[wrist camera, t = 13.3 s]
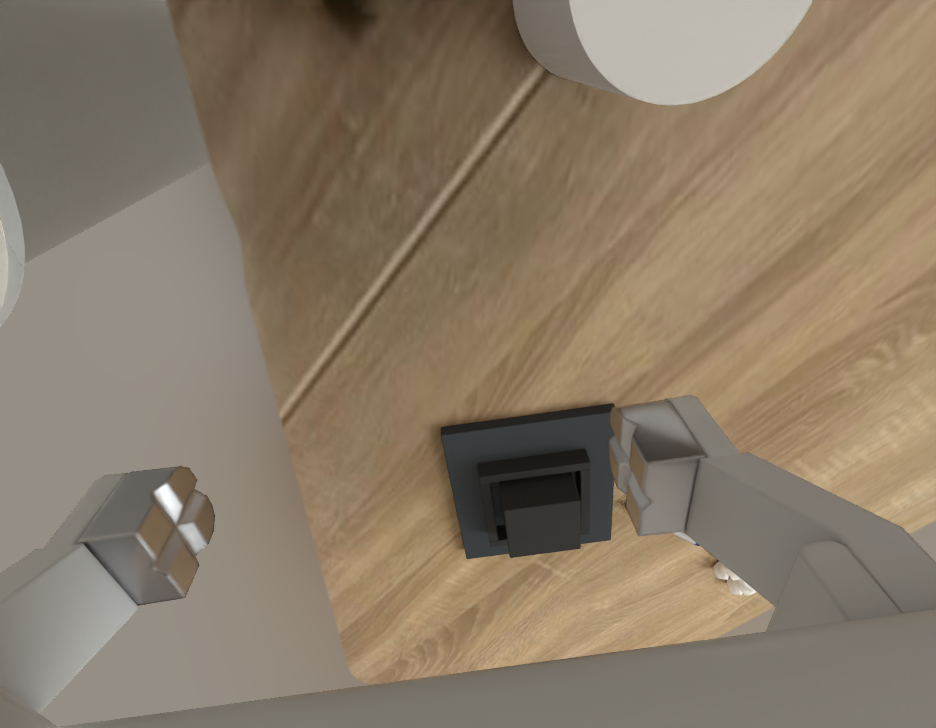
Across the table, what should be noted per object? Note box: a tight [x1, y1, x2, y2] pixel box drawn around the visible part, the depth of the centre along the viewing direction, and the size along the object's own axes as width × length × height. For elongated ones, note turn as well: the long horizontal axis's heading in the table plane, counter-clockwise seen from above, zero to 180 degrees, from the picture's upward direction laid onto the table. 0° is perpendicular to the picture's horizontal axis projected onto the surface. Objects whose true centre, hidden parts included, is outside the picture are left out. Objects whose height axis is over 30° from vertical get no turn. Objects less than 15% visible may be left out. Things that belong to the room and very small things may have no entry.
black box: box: [499, 472, 581, 558], centre depth 42 cm, size 6×6×4 cm
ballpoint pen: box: [672, 532, 700, 546], centre depth 48 cm, size 10×1×1 cm, turn 56°
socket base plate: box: [441, 404, 615, 559], centre depth 43 cm, size 14×16×3 cm
